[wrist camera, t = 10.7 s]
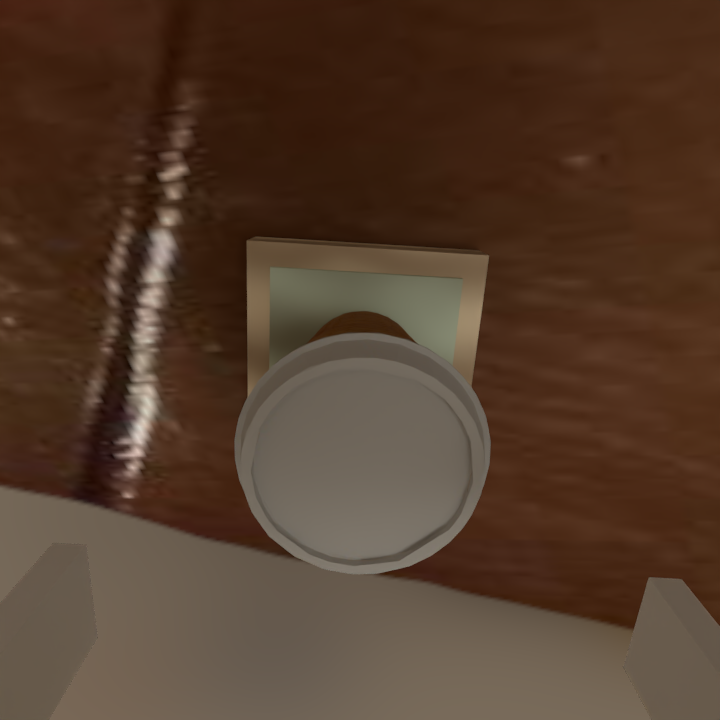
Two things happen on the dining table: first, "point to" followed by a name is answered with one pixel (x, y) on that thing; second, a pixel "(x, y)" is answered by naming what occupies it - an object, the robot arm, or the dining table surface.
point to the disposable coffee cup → (362, 448)
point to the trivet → (361, 295)
